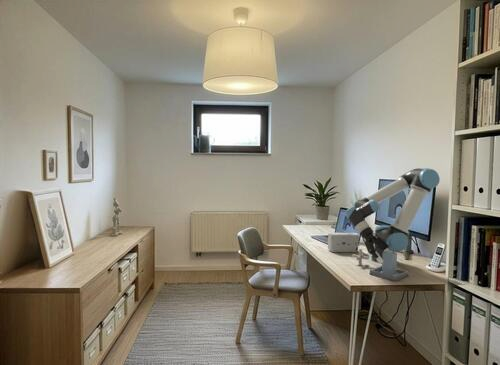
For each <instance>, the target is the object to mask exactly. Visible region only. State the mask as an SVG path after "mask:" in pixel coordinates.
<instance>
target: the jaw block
mask: <svg viewBox="0 0 500 365" xmlns="http://www.w3.org/2000/svg"><path fill="white" fill-rule="evenodd" d="M382 259H383V261H384V262H383V263H381V266H382V273H385V274H389V275H392V276H393V275H395V274H396V269H398V268H397V266H398V253H397V252H396V251H394V252H393V251H392V250H387V251H385V252H383V254H382Z"/></svg>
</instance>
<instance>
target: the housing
mask: <svg viewBox="0 0 500 365" xmlns="http://www.w3.org/2000/svg"><path fill="white" fill-rule="evenodd" d="M369 275H371V276H375V277H378V278H382V279H385V280H388V281H392V282H399V281H400V280H403V279H405V278H408V277H409V271H406V270H403V269H399V268H396V274H395V275H393V276H392V275H389V274H385V273H382V265H380V266H378V267H374V268H371V269H370V270H369Z"/></svg>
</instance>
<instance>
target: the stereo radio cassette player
mask: <svg viewBox="0 0 500 365" xmlns="http://www.w3.org/2000/svg"><path fill="white" fill-rule="evenodd" d="M333 226H335V227H337V228H338V229H340V230H341V231H343V232H328V233H327V249H328V250H329V252H331V253H358V252H359V240H360V233H358V232H348V231H347V230H345V229H343V228H340V227H339V226H337V225H335V224H333Z"/></svg>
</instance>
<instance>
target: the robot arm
mask: <svg viewBox="0 0 500 365" xmlns="http://www.w3.org/2000/svg"><path fill="white" fill-rule="evenodd" d="M440 179H441V178H440V176H439V173H438V172H437V171H436V170H434V169H432V168H426V167H425V168H414V169H411V170H409V171H407V172H405V173H404V174H402V175H400V176H399V177H398V179H396V180H394V181H393V182H391V183H389V184H387V185H385V186H383V187H382V188H380V189H378V190H376V191H374V192H372V193H370V194H368V195H367V196H365V197H363V198H361V199H356V200H354V202H353V206H351V207H349V208H348V209H346V211H345V212H344V215H345V216H346V218H347V219H348V221H349V222H350V224H352V226H353V227H354V228H355V230H356V231H357V234H359V236H360V237H361V239H362V242H363V243H364V245H365V247H366V251H367V253H368V254H369V255H370V256H371V257H370V259H371V260H372V261H374V262H376V263H378V264H379V265H382V263H383V262H384V261H383V259H382V254H383V252H385V251H387V250H392V251H393V252H401V251H404V250H406V248H407V247H408V245H409V238H408V237H409V235H410V232H409V229H410V226H411V225H412V223H413V221H414V219H415V217H416V214H417V213H418V211H419V209H420V207H421V205H422V204H423V201H424V199H425V197H426V195H428V194H430V193H431V191H432V190H433V189H434V188H436V187H437V186H438V185H439V184H440V181H441V180H440ZM409 189H410V191H409V193H408V195H407V196H406V199H405V200H404V203H403V205H402V207H401V209H400V211H399V212H398V215H397V217H396V219H395V220H394V223H392V224H390V225H376V226H375V229H374V230H373V228H371V226H370V225H369V223H368V222H367V221H366V220H365V219H366V218H368V217H369V216H371V215H373V214H375V213H377V211H379V210H380V205H379V204H380V203H382V202H384V201H385V200H388V199H390V198H392V197H393V196H395V195H397V194H399V193H401V192H402V191H405V190H406V191H407V190H409Z"/></svg>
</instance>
